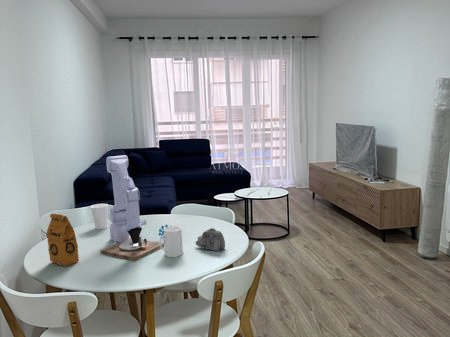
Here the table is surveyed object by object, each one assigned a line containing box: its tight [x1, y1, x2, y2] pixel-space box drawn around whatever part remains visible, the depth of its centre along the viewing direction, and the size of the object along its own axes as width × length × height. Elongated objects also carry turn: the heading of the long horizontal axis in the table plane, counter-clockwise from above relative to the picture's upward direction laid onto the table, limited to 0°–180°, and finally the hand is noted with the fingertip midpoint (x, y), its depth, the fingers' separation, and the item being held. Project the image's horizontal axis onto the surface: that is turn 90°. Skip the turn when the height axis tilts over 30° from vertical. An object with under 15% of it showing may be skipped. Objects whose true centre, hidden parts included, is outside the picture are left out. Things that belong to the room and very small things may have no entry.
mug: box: [159, 225, 184, 258], centre depth 179 cm, size 12×8×12 cm
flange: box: [119, 235, 146, 251], centre depth 187 cm, size 14×12×6 cm
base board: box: [99, 237, 165, 262], centre depth 188 cm, size 22×20×4 cm
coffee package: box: [46, 213, 80, 267], centre depth 174 cm, size 10×12×22 cm
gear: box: [158, 224, 172, 239], centre depth 200 cm, size 11×6×10 cm
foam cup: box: [90, 203, 109, 230], centre depth 225 cm, size 10×9×13 cm
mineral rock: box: [195, 227, 226, 252], centre depth 186 cm, size 13×11×10 cm
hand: (135, 243), depth 182 cm, fingers closed
